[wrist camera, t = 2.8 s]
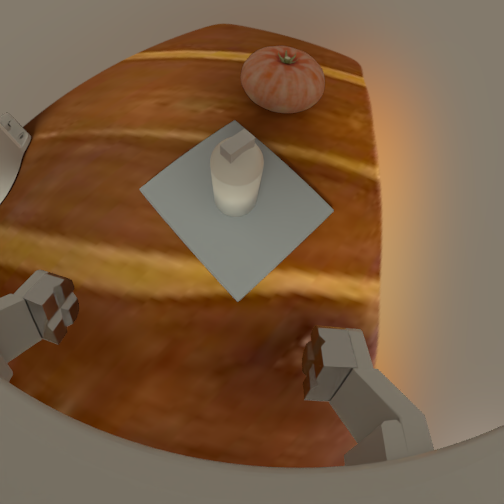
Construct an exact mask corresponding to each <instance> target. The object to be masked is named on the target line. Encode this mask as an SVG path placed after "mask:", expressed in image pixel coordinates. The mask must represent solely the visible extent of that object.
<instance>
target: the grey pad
mask: <svg viewBox="0 0 504 504" xmlns="http://www.w3.org/2000/svg"><path fill="white" fill-rule="evenodd" d="M243 129H244V127H243V126H241V125H240V124H239V123H238V122H236V121H235V120H234V121H232V122H231V123H229V124H228V125H226V126H225V127H223V128H222V129H220V130H219V131H217V132H216V133H214V134H213V135H211V136H210V137H208V138H207V139H205V140H204V141H202V142H201V143H199V144H198V145H197V146H195V147H194V148H192V149H191V150H189V151H188V152H187V153H185V154H184V155H183V156H181V157H180V158H178V159H177V160H176V161H174V162H173V163H172V164H170V165H169V166H168V167H167V168H165V169H164V170H163V171H161V172H160V173H159V174H157V175H156V176H155V177H154V178H152V179H151V180H150V181H149V182H147V183H146V184H145V185H144V186H143V187H141V188H140V189H139V190H140V191H141V193H142V194H143V195H144V196H145V198H146V199H147V200H148V201H149V202H150V204H151V205H152V206H153V207H154V208H155V210H156V211H157V212H158V213H159V214H160V216H161V217H162V218H163V219H164V220H165V221H166V223H167V224H168V225H169V226H170V227H171V228H172V230H173V231H174V232H175V233H176V234H177V235H178V237H179V238H180V239H181V240H182V241H183V242H184V243H185V245H186V246H187V247H188V248H189V249H190V250H191V251H192V253H193V254H194V255H195V256H196V257H197V258H198V259H199V260H200V262H201V263H202V264H203V265H204V266H205V267H206V268H207V269H208V271H209V272H210V273H211V274H212V275H213V276H214V277H215V278H216V279H217V280H218V282H219V283H220V284H221V285H222V286H223V287H224V288H225V289H226V290H227V291H228V292H229V294H230V295H231V296H232V297H233V298H234V299H235V300H236V301H237V302H239V301H240V300H241V299H242V298H243V297H244V296H245V295H246V294H247V293H248V292H249V291H251V290H252V289H253V288H254V287H255V286H256V285H257V284H258V283H259V282H260V281H261V280H262V279H263V278H265V277H266V276H267V275H268V274H269V273H270V272H271V271H272V270H273V269H274V268H275V267H276V266H277V265H278V264H279V263H281V262H282V261H283V260H284V259H285V258H286V257H287V256H288V255H289V254H290V253H291V252H292V251H293V250H294V249H295V248H296V247H297V246H298V245H299V244H301V243H302V242H303V241H304V240H305V239H306V238H307V237H308V236H309V235H310V234H311V233H312V232H313V231H314V230H315V229H316V228H317V227H318V226H319V225H320V224H321V223H322V222H323V221H324V220H325V219H326V218H327V217H328V216H329V215H330V214H331V213H332V212H333V211H334V210H333V209H332V208H331V207H330V206H329V205H328V204H327V203H326V202H325V201H324V200H323V199H322V198H321V197H320V196H319V195H318V194H317V193H316V192H315V191H314V190H313V189H312V188H311V187H310V186H309V185H308V184H307V183H306V182H305V181H304V180H303V179H301V178H300V177H299V176H298V175H297V174H296V173H295V172H294V171H293V170H292V169H291V168H290V167H289V166H287V165H286V164H285V163H284V162H283V161H282V160H281V159H280V158H279V157H278V156H276V155H275V154H274V153H273V152H272V151H271V150H270V149H268V148H267V147H266V146H265V145H264V144H263V143H262V142H260V141H259V140H258V139H257V138H256V137H255V136H254V137H255V143H256V144H257V146H258V147H259V148H260V150H261V152H262V154H263V158H264V167H263V172H262V177H261V181H260V186H259V191H258V196H257V201H256V204H255V206H254V208H253V209H252V210H251V211H250V212H249V213H248V214H246V215H244V216H240V217H231V216H227V215H225V214H223V213H222V212H221V211H220V210H219V209H218V208H217V206H216V204H215V201H214V193H213V185H212V177H211V169H210V158H211V154H212V152H213V150H214V148H215V147H216V146H217V145H218V144H219V143H220V142H221V141H223V140H224V139H227V138H229V137H232V136H234V135H235V134H237V133H238V132H240V131H241V130H243ZM248 132H249V131H248ZM249 133H250V132H249Z"/></svg>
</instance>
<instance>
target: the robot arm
mask: <svg viewBox="0 0 504 504" xmlns="http://www.w3.org/2000/svg"><path fill="white" fill-rule="evenodd" d="M30 140H31V135H30V134H29V133H28V132H27V131H26V130H25V129H24V128H23V127H22V126H21V125H20V124H19V123H18V122H17V121H16V120H15V119H14V118H13V117H12V116H11V115H10V114H9V113H7V112H6V113H5V114H3V115H2V116H0V203H1V202H2V201H3V199H4V198H5V196H6V195H7V193H8V192H9V190H10V188H11V186H12V184H13V182H14V180H15V178H16V176H17V173H18V170H19V167H20V164H21V160H22V157H23V154H24V152H25V150H26V148H27V146H28V145H29V143H30ZM73 291H74V285H73V282H72V280H70V279H69V278H66V277H62V276H59V275H56V274H53V273H50V272H46V271H43V270H37V271H36V272H35V273H34V274H33V275H32V276H31V277H30V278H29V279H28V280H27V281H26V282H25V283H24V284H23V285H22V286H21V287H20V288H19V289H18V290H17V291H16V292H15V293H14V294H9V295H6V296H4V297H2V298H0V504H504V426H500V427H498V428H496V429H493V430H491V431H489V432H486V433H484V434H481V435H479V436H476V437H474V438H471V439H468V440H465V441H462V442H459V443H456V444H453V445H450V446H447V447H443V448H440V449H437V450H434V449H433V444H432V440H431V436H430V433H429V429H428V425H427V422H426V418H425V415H424V414H423V413H422V412H421V411H420V410H419V409H418V408H417V407H416V406H415V405H414V404H413V403H412V402H411V401H410V400H409V399H408V398H407V397H406V396H405V395H404V394H403V393H402V392H401V391H400V390H398V388H397V387H395V386H394V385H393V384H392V383H391V382H390V381H389V380H388V379H387V378H386V377H385V376H384V375H383V374H382V373H381V372H380V371H379V370H378V369H373V365H372V362H371V359H370V355H369V352H368V348H367V345H366V342H365V339H364V335H363V332H362V331H361V330H360V329H349V328H336V327H325V326H315V327H314V328H313V330H312V332H311V341H310V342H308V343H307V344H306V346H305V349H304V352H303V357H302V371H303V373H304V374H305V375H306V378H305V380H304V382H303V389H304V400H315V401H330V402H329V403H330V404H331V406H332V407H333V409H334V410H335V411H336V413H337V414H338V416H339V417H340V419H341V420H342V421H343V423H344V424H345V426H346V427H347V429H348V430H349V431H350V433H351V434H352V436H353V437H354V439H355V440H356V441H357V443H358V444H357V445H356V446H354V447H353V448H352V449H351V450H349V451H348V452H347V453H346V454H345V455H344V459H345V466H338V467H319V468H281V467H262V466H250V465H240V464H231V463H224V462H217V461H211V460H205V459H199V458H194V457H189V456H184V455H180V454H175V453H171V452H167V451H163V450H159V449H156V448H152V447H149V446H145V445H142V444H139V443H135V442H132V441H129V440H126V439H123V438H120V437H117V436H115V435H112V434H109V433H107V432H104V431H101V430H99V429H96V428H94V427H91V426H89V425H87V424H84V423H82V422H80V421H78V420H75V419H73V418H71V417H69V416H67V415H65V414H63V413H61V412H59V411H57V410H55V409H53V408H51V407H49V406H47V405H45V404H44V403H42V402H40V401H38V400H36V399H35V398H33V397H31V396H29V395H28V394H26V393H24V392H23V391H21V390H20V389H18V388H16V387H15V386H13V385H12V384H10V383H9V380H10V379H11V377H12V375H13V372H12V370H11V369H10V367H9V366H8V364H7V363H8V362H9V361H11V360H12V359H14V358H15V357H17V356H18V355H19V354H21V353H22V352H24V351H25V350H27V349H28V348H30V347H31V346H33V345H34V344H36V343H37V342H39V341H40V340H42V338H43V339H45V340H48V341H50V342H53V343H56V344H58V345H59V344H60V342H61V341H62V339H63V338H64V336H65V335H66V333H67V326H69V325H71V324H73V323H74V321H75V320H76V318H77V315H78V312H79V303H78V299H77V297H76V296H75V295H74V294H73Z"/></svg>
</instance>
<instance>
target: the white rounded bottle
mask: <svg viewBox="0 0 504 504" xmlns="http://www.w3.org/2000/svg"><path fill="white" fill-rule="evenodd" d="M263 167H264V158H263V154H262V152H261V150H260V148H259V147H258V146H257V144H256V143H255V137H254V136H253V135H252V134H251V133H249V132H248V131H247V130H246V129H245V128H244V129H243V130H241V131H240V132H238V133H237V134H235V135H234V136H232V137H229V138H227V139H224V140H223V141H221V142H220V143H219V144H218V145H217V146H216V147H215V148H214V150H213V152H212V154H211V158H210V169H211V177H212V185H213V193H214V201H215V204H216V206H217V208H218V209H219V210H220V211H221V212H222V213H223V214H225V215H227V216H231V217H240V216H244V215H246V214H248V213H249V212H250V211H251V210H252V209H253V208H254V206H255V204H256V201H257V196H258V191H259V186H260V181H261V177H262V172H263Z"/></svg>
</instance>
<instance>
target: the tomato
mask: <svg viewBox="0 0 504 504" xmlns="http://www.w3.org/2000/svg"><path fill="white" fill-rule="evenodd" d="M241 83H242V86H243V88H244V90H245V92H246V94H247V95H248V97H249V98H250V99H251V100H252V101H253V102H254V103H256V104H257V105H259V106H261V107H263V108H265V109H267V110H270V111H273V112H277V113H296V112H301V111H304V110H306V109H308V108H310V107H312V106H313V105H314V104H316V103H317V102H318V101H319V99H320V98H321V96H322V94H323V92H324V88H325V78H324V73H323V70H322V68H321V67H320V65H319V64H318V63H317V62H316V61H315V60H314V59H313V58H312V57H311V56H310V55H308V54H307V53H305V52H303V51H301V50H297V49H295V48H292V47H287V46H271V47H265V48H262V49H260V50H257V51H256V52H254V53H253V54H252V55H251V56H250V57H249V58H248V59H247V60H246V61H245V63H244V65H243V68H242V71H241Z"/></svg>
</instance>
